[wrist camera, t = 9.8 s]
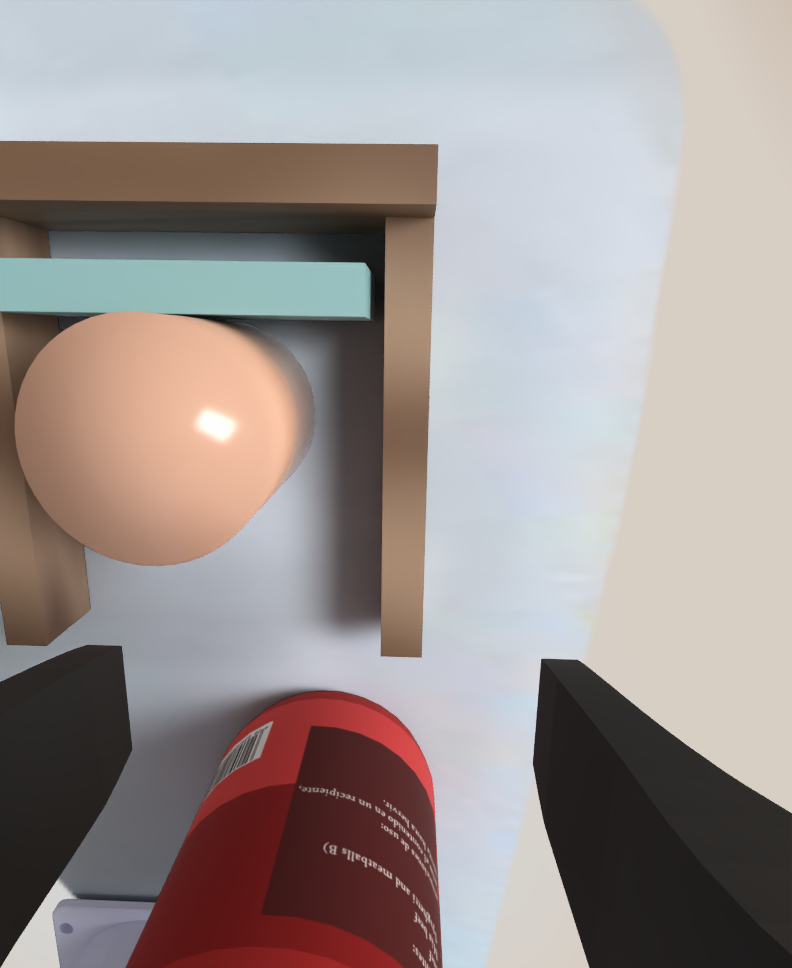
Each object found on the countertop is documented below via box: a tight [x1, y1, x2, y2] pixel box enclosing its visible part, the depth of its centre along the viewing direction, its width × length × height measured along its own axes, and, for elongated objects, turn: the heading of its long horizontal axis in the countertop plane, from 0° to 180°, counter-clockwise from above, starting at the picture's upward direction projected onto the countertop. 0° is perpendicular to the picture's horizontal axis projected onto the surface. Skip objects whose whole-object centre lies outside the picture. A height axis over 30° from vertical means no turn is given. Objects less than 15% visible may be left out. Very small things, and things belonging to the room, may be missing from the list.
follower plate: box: [0, 258, 375, 321], centre depth 16 cm, size 1×9×4 cm, turn 89°
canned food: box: [125, 691, 442, 968], centre depth 16 cm, size 8×8×11 cm
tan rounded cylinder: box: [15, 311, 315, 566], centre depth 16 cm, size 6×6×6 cm
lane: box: [0, 141, 438, 657], centre depth 17 cm, size 13×12×4 cm
